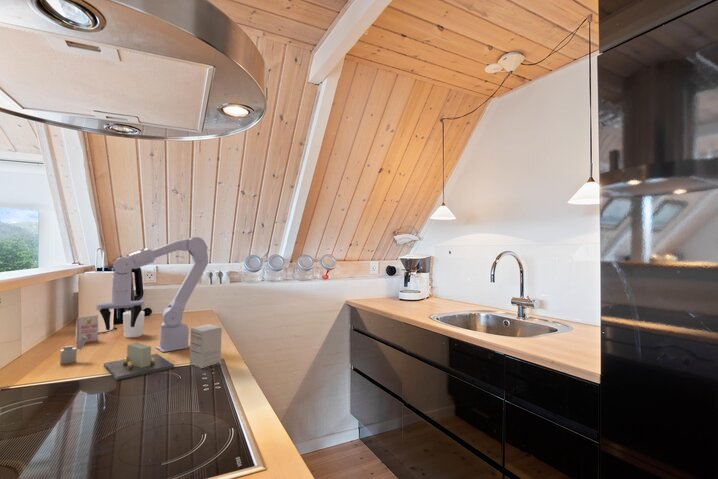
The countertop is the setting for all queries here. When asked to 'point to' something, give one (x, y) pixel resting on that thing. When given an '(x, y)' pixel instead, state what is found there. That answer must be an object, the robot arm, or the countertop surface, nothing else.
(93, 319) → the printed carton
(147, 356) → the sage block
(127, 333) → the white cup
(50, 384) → the countertop surface
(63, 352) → the lighter
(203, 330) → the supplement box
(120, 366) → the standoff plate
